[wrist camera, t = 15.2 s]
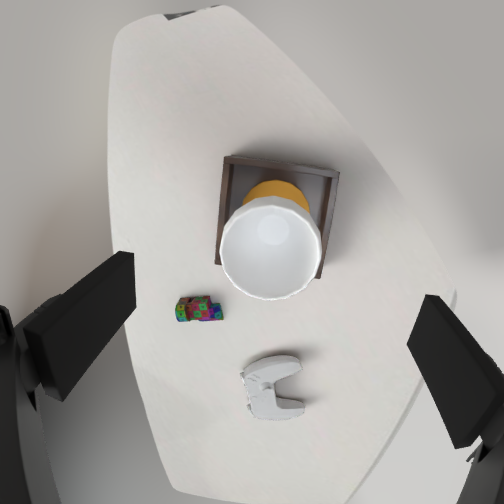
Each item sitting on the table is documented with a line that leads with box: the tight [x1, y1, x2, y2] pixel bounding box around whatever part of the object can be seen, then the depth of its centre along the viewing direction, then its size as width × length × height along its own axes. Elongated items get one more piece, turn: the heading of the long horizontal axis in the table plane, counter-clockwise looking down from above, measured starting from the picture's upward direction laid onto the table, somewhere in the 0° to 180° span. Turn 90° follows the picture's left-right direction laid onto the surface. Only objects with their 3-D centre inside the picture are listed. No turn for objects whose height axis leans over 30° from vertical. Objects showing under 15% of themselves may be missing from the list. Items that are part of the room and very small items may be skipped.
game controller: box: [240, 355, 305, 420], centre depth 48 cm, size 14×4×10 cm
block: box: [175, 296, 223, 322], centre depth 45 cm, size 6×4×3 cm
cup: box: [219, 180, 322, 301], centre depth 33 cm, size 9×9×16 cm
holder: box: [215, 156, 340, 279], centre depth 39 cm, size 14×14×4 cm
